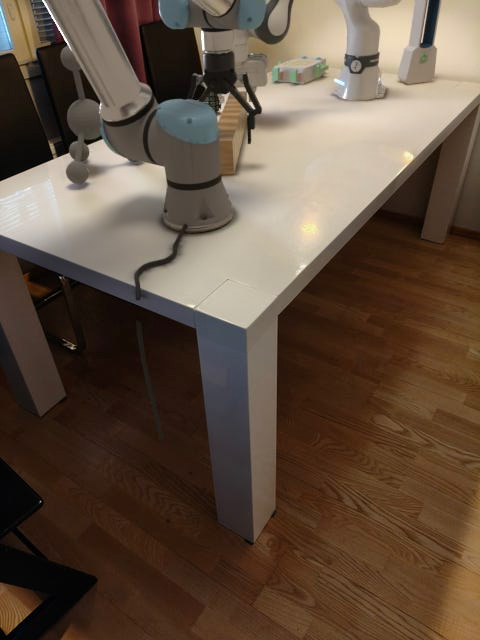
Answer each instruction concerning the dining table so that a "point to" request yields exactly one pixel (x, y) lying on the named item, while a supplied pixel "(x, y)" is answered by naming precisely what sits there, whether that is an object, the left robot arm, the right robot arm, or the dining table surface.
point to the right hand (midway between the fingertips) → (236, 102)
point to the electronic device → (421, 44)
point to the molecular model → (80, 122)
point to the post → (231, 132)
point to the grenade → (213, 101)
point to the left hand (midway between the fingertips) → (223, 142)
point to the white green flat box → (299, 70)
